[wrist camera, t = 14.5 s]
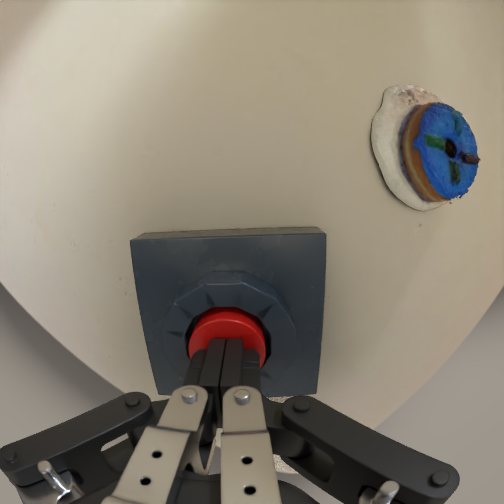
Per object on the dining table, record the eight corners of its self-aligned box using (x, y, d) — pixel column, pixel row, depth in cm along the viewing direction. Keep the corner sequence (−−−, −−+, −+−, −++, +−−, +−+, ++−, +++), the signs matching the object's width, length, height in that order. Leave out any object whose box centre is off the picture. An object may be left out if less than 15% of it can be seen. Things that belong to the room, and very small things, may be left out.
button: (198, 363, 15) (193, 382, 13) (190, 303, 14) (183, 319, 13) (264, 363, 15) (266, 382, 13) (263, 302, 14) (265, 318, 13)
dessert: (471, 218, 15) (485, 216, 11) (383, 208, 19) (363, 203, 14) (468, 105, 14) (473, 66, 9) (383, 101, 18) (362, 65, 13)
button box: (166, 375, 19) (150, 413, 15) (143, 233, 16) (114, 247, 13) (311, 374, 19) (321, 413, 15) (317, 226, 16) (336, 239, 12)
